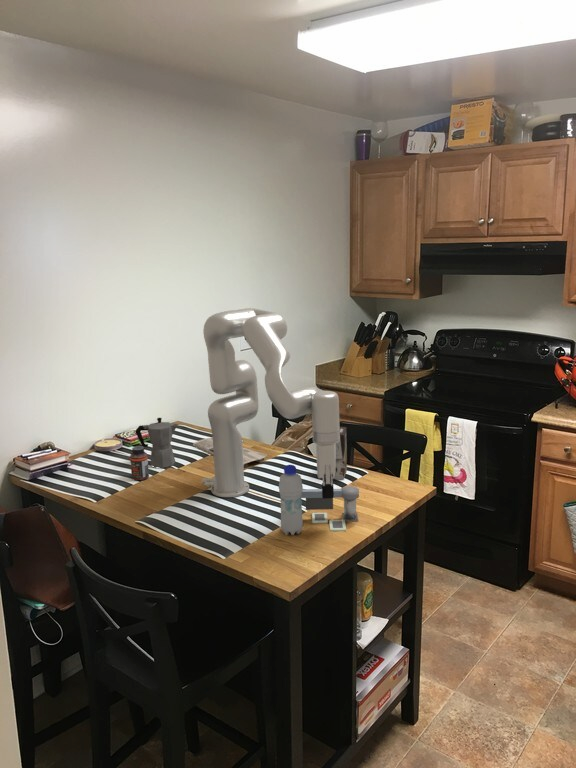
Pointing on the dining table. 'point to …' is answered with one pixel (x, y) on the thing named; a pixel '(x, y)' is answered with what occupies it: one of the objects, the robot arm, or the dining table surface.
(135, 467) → the supplement bottle
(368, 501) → the dining table surface
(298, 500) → the bottle
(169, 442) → the coffeepot
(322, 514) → the label tile
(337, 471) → the coffee box
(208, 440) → the newspaper
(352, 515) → the post
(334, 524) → the label tile
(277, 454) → the dining table surface
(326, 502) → the bar
